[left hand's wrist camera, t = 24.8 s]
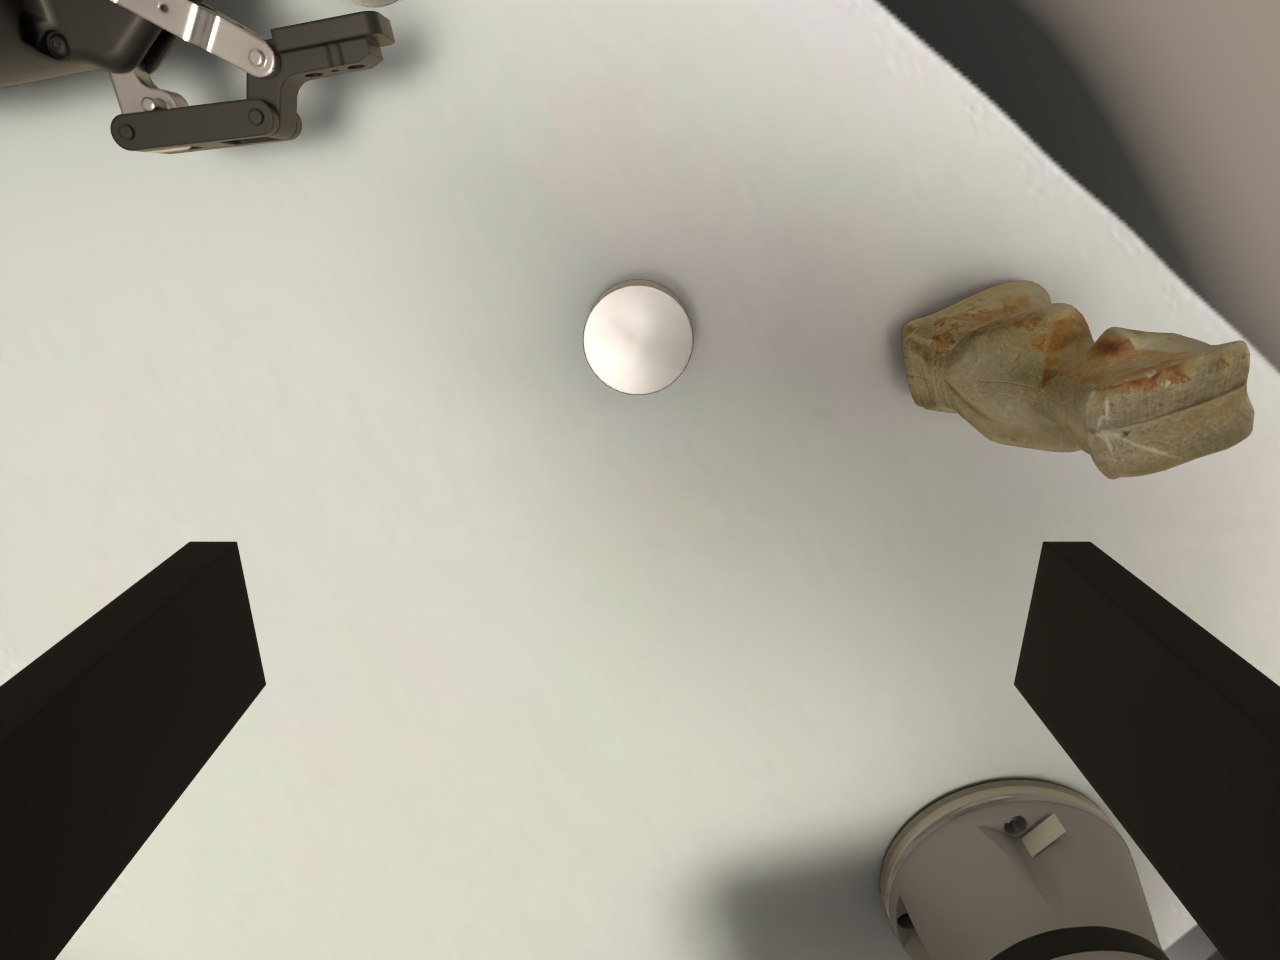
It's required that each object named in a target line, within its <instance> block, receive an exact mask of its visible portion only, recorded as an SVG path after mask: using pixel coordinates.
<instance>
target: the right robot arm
mask: <svg viewBox="0 0 1280 960" xmlns="http://www.w3.org/2000/svg"><path fill="white" fill-rule="evenodd" d="M270 30H271V33H272V37H273V39H266V38H265V37H263V36H261V35H259V34H257V33H255V32H254V31H252V30H250V29H249V28H248V27H246V26H244V25H242V24H241V23H239V22H237V21H235V20H233V19H231V18H230V17H228V16H226V15H224V14H222V13H221V12H219V11H217V10H215V9H213V8H212V7H210V6H208V5H206V4H204V3H202V0H0V88H4V87H9V86H14V85H20V84H25V83H30V82H35V81H40V80H45V79H50V78H55V77H61V76H66V75H71V74H76V73H81V72H86V71H91V70H96V69H102V70H105V71H107V72H109V73H110V77H111V80H112V83H113V86H114V89H115V93H116V96H117V99H118V102H119V105H120V109H121V112H122V114H120V115H118V116H116V117H115V118H114V119H113V121H112V123H111V134H112V136H113V139H114V140H115V142H116V143H117V144H118V145H119V146H120V147H122V148H124V149H126V150H130V151H141V152H153V153H164V154H175V153H184V152H192V151H201V150H209V149H218V148H227V147H235V146H244V145H252V144H261V143H270V142H278V141H287V140H293V139H295V138H296V137H298V136H299V134H300V132H301V129H302V123H301V119H300V117H299V115H298V114H297V95H298V91H299V89H300V87H301V86H302V85H303V84H304V83H305V82H307V81H309V80H312V79H318V78H323V77H328V76H333V75H338V74H344V73H349V72H354V71H359V70H365V69H370V68H373V67H374V66H375V65H377V64H378V63H379V62H381V61H382V60H383V57H382V53H381V49H380V47H383V46H388V45H391V44H393V43H395V41H394V36H393V32H392V28H391V24H390V20H388V19H387V18H386V17H384V16H383V15H381V14H380V13H378V12H376V11H363V12H357V13H352V14H347V15H342V16H337V17H332V18H327V19H321V20H316V21H311V22H306V23H301V24H296V25H291V26H286V27H281V28H276V29H270ZM178 37H180V38H181V39H183V40H185V41H187V42H189V43H191V44H193V45H195V46H198V47H200V48H202V49H204V50H206V51H208V52H210V53H212V54H214V55H216V56H218V57H220V58H221V59H223V60H225V61H227V62H229V63H231V64H232V65H234V66H236V67H238V68H240V69H242V70H244V71H245V72H247V99H245V100H237V101H228V102H220V103H211V104H203V105H194V106H189V105H188V103H187V101H186V100H185V99H184V97H182V96H181V95H180V94H178V93H175V92H171V91H166V90H162V89H159V88H158V87H157V86H156V85H155V84H154V83H153V82H152V80H151V78H150V76H149V75H150V74H151V73H153V72H154V71H155V70H156V69H157V68H158V67H159V65H160V64H161V63H162V61H163V60H164V58H165V57H166V55H167V54H168V52H169V51H170V49H171V48H172V46H173V45H174V43H175V42H176V40H177V39H178Z"/></svg>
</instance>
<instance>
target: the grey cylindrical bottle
mask: <svg viewBox="0 0 1280 960" xmlns="http://www.w3.org/2000/svg"><path fill="white" fill-rule="evenodd" d="M349 1H351V2H353V3H356V4H359V5H362V6H368V7H379V6H384V5H388V4H390V3H392V2H394V1H396V0H349Z"/></svg>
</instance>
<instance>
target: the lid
mask: <svg viewBox="0 0 1280 960" xmlns="http://www.w3.org/2000/svg"><path fill="white" fill-rule="evenodd" d="M583 347H584V352H585V356H586V359H587V362H588V364H589V366H590V368H591V369H592V371H593V372H594V374H595V375H596V376H597V377H598V378H599V379H600V380H601V381H602V382H603V383H605V384H606V385H607V386H609V387H610V388H612V389H614V390H616V391H619V392H622V393H626V394H632V395H645V394H651V393H654V392H657V391H660V390H662V389H664V388H666V387H667V386H669V385H670V384H672V383H673V382H674V381H675V380H676V379H677V378H678V377H679V376H680V375H681V374H682V372H683V371H684V370H685V368H686V366H687V364H688V362H689V359H690V357H691V353H692V348H693V332H692V327H691V323H690V320H689V318H688V315H687V313H686V310H685V308H684V306H683V305H682V303H681V301H680V300H679V299H678V298H677V296H676V295H674V294H673V293H672V292H671V291H670V290H669V289H667V288H666V287H664V286H662V285H660V284H658V283H655V282H652V281H648V280H640V279H638V280H628V281H624V282H621V283H618V284H616V285H614V286H612V287H611V288H609V289H608V290H606V291H605V292H604V293H603V294H602V295H601V296H600V297H599V298H598V299H597V301H596V302H595V304H594V305H593V307H592V309H591V311H590V313H589V316H588V318H587V321H586V324H585V327H584V332H583Z"/></svg>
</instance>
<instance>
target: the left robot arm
mask: <svg viewBox="0 0 1280 960" xmlns="http://www.w3.org/2000/svg"><path fill="white" fill-rule="evenodd" d="M265 685H266V682H265V677H264V672H263V667H262V662H261V657H260V653H259V648H258V643H257V638H256V633H255V628H254V623H253V618H252V613H251V609H250V604H249V599H248V594H247V589H246V584H245V579H244V574H243V569H242V565H241V560H240V555H239V550H238V545H237V542H189V543H188V544H186V545H185V546H184V547H182V548H181V549H180V550H178V551H177V552H176V553H174V554H173V555H172V556H171V557H169V558H168V559H167V560H165V561H164V562H163V563H161V564H160V565H159V566H157V567H156V568H155V569H154V570H152V571H151V572H150V573H148V574H147V575H146V576H144V577H143V578H142V579H140V580H139V581H138V582H137V583H135V584H134V585H133V586H131V587H130V588H129V589H127V590H126V591H125V592H123V593H122V594H121V595H119V596H118V597H117V598H116V599H114V600H113V601H112V602H110V603H109V604H108V605H106V606H105V607H104V608H102V609H101V610H100V611H99V612H97V613H96V614H95V615H93V616H92V617H91V618H89V619H88V620H87V621H85V622H84V623H83V624H82V625H80V626H79V627H78V628H76V629H75V630H74V631H72V632H71V633H70V634H68V635H67V636H66V637H65V638H63V639H62V640H61V641H59V642H58V643H57V644H55V645H54V646H53V647H51V648H50V649H49V650H48V651H46V652H45V653H44V654H42V655H41V656H40V657H38V658H37V659H36V660H34V661H33V662H32V663H31V664H29V665H28V666H27V667H25V668H24V669H23V670H21V671H20V672H19V673H17V674H16V675H15V676H14V677H12V678H11V679H10V680H8V681H7V682H6V683H4V684H3V685H2V686H0V960H55V959H56V957H57V956H58V955H59V953H60V952H61V951H62V949H63V948H64V947H65V946H66V944H67V943H68V942H69V940H70V939H71V938H72V936H73V935H74V934H75V933H76V931H77V930H78V929H79V927H80V926H81V925H82V923H83V922H84V921H85V920H86V918H87V917H88V916H89V914H90V913H91V912H92V910H93V909H94V908H95V907H96V905H97V904H98V903H99V901H100V900H101V899H102V897H103V896H104V895H105V893H106V892H107V891H108V890H109V888H110V887H111V886H112V884H113V883H114V882H115V880H116V879H117V878H118V877H119V875H120V874H121V873H122V871H123V870H124V869H125V867H126V866H127V865H128V864H129V862H130V861H131V860H132V858H133V857H134V856H135V854H136V853H137V852H138V851H139V849H140V848H141V847H142V845H143V844H144V843H145V841H146V840H147V839H148V838H149V836H150V835H151V834H152V832H153V831H154V830H155V828H156V827H157V826H158V824H159V823H160V822H161V821H162V819H163V818H164V817H165V815H166V814H167V813H168V811H169V810H170V809H171V808H172V806H173V805H174V804H175V802H176V801H177V800H178V798H179V797H180V796H181V795H182V793H183V792H184V791H185V789H186V788H187V787H188V785H189V784H190V783H191V782H192V780H193V779H194V778H195V776H196V775H197V774H198V772H199V771H200V770H201V769H202V767H203V766H204V765H205V763H206V762H207V761H208V759H209V758H210V757H211V756H212V754H213V753H214V752H215V750H216V749H217V748H218V746H219V745H220V744H221V742H222V741H223V740H224V739H225V737H226V736H227V735H228V733H229V732H230V731H231V729H232V728H233V727H234V726H235V724H236V723H237V722H238V720H239V719H240V718H241V716H242V715H243V714H244V713H245V711H246V710H247V709H248V707H249V706H250V705H251V703H252V702H253V701H254V700H255V698H256V697H257V696H258V694H259V693H260V692H261V690H262V689H263V688H264V687H265ZM1014 685H1015V687H1016V688H1017V689H1018V690H1019V692H1020V693H1021V694H1022V696H1023V697H1024V698H1025V700H1026V701H1027V702H1028V703H1029V705H1030V706H1031V707H1032V709H1033V710H1034V711H1035V713H1036V714H1037V715H1038V716H1039V718H1040V719H1041V720H1042V722H1043V723H1044V724H1045V726H1046V727H1047V728H1048V729H1049V731H1050V732H1051V733H1052V735H1053V736H1054V737H1055V739H1056V740H1057V741H1058V742H1059V744H1060V745H1061V746H1062V748H1063V749H1064V750H1065V752H1066V753H1067V754H1068V756H1069V757H1070V758H1071V759H1072V761H1073V762H1074V763H1075V765H1076V766H1077V767H1078V769H1079V770H1080V771H1081V772H1082V774H1083V775H1084V776H1085V778H1086V779H1087V780H1088V782H1089V783H1090V784H1091V785H1092V787H1093V788H1094V789H1095V791H1096V792H1097V793H1098V795H1099V796H1100V797H1101V798H1102V800H1103V801H1104V802H1105V804H1106V805H1107V806H1108V808H1109V809H1110V810H1111V811H1112V813H1113V814H1114V815H1115V817H1116V818H1117V819H1118V821H1119V822H1120V823H1121V824H1122V826H1123V827H1124V828H1125V830H1126V831H1127V832H1128V834H1129V835H1130V836H1131V838H1132V839H1133V840H1134V841H1135V843H1136V844H1137V845H1138V847H1139V848H1140V849H1141V851H1142V852H1143V853H1144V854H1145V856H1146V857H1147V858H1148V860H1149V861H1150V862H1151V864H1152V865H1153V866H1154V867H1155V869H1156V870H1157V871H1158V873H1159V874H1160V875H1161V877H1162V878H1163V879H1164V880H1165V882H1166V883H1167V884H1168V886H1169V887H1170V888H1171V890H1172V891H1173V892H1174V893H1175V895H1176V896H1177V897H1178V899H1179V900H1180V901H1181V903H1182V904H1183V905H1184V907H1185V908H1186V909H1187V910H1188V912H1189V913H1190V914H1191V916H1192V917H1193V918H1194V920H1195V921H1196V922H1197V923H1198V925H1199V926H1200V927H1201V929H1202V930H1203V931H1204V932H1205V934H1206V935H1207V936H1208V938H1209V939H1210V940H1211V942H1212V943H1213V944H1214V946H1215V947H1216V948H1217V949H1218V951H1219V952H1220V953H1221V955H1222V956H1223V957H1224V959H1225V960H1280V686H1278V685H1277V684H1276V683H1274V682H1273V681H1272V680H1270V679H1269V678H1268V677H1266V676H1265V675H1264V674H1263V673H1261V672H1260V671H1259V670H1257V669H1256V668H1255V667H1253V666H1252V665H1251V664H1249V663H1248V662H1247V661H1246V660H1244V659H1243V658H1242V657H1240V656H1239V655H1238V654H1236V653H1235V652H1234V651H1232V650H1231V649H1230V648H1229V647H1227V646H1226V645H1225V644H1223V643H1222V642H1221V641H1219V640H1218V639H1217V638H1215V637H1214V636H1213V635H1212V634H1210V633H1209V632H1208V631H1206V630H1205V629H1204V628H1202V627H1201V626H1200V625H1198V624H1197V623H1196V622H1195V621H1193V620H1192V619H1191V618H1189V617H1188V616H1187V615H1185V614H1184V613H1183V612H1181V611H1180V610H1179V609H1178V608H1176V607H1175V606H1174V605H1172V604H1171V603H1170V602H1168V601H1167V600H1166V599H1164V598H1163V597H1162V596H1161V595H1159V594H1158V593H1157V592H1155V591H1154V590H1153V589H1151V588H1150V587H1149V586H1147V585H1146V584H1145V583H1143V582H1142V581H1141V580H1140V579H1138V578H1137V577H1136V576H1134V575H1133V574H1132V573H1130V572H1129V571H1128V570H1126V569H1125V568H1124V567H1123V566H1121V565H1120V564H1119V563H1117V562H1116V561H1115V560H1113V559H1112V558H1111V557H1109V556H1108V555H1107V554H1106V553H1104V552H1103V551H1102V550H1100V549H1099V548H1098V547H1096V546H1095V545H1094V544H1092V543H1091V542H1043V545H1042V550H1041V555H1040V560H1039V564H1038V569H1037V574H1036V579H1035V584H1034V589H1033V594H1032V599H1031V604H1030V609H1029V613H1028V618H1027V623H1026V628H1025V633H1024V638H1023V643H1022V648H1021V653H1020V657H1019V662H1018V667H1017V672H1016V677H1015V682H1014ZM880 891H881V897H882V901H883V904H884V907H885V910H886V913H887V916H888V919H889V921H890V924H891V927H892V929H893V932H894V934H895V936H896V937H897V939H898V941H899V942H900V943H901V945H902V947H903V948H904V950H905V951H906V952H907V954H908V955H909V956H910V957H911V959H912V960H1169V959H1168V957H1167V956H1166V954H1165V953H1164V951H1163V950H1162V948H1161V945H1160V943H1159V940H1158V936H1157V933H1156V930H1155V927H1154V924H1153V921H1152V917H1151V914H1150V911H1149V908H1148V905H1147V902H1146V899H1145V895H1144V892H1143V889H1142V886H1141V883H1140V880H1139V877H1138V873H1137V871H1136V867H1135V864H1134V861H1133V859H1132V856H1131V853H1130V851H1129V849H1128V847H1127V845H1126V843H1125V841H1124V840H1123V838H1122V837H1121V835H1120V834H1119V833H1118V831H1117V830H1116V829H1115V827H1114V826H1113V825H1112V823H1111V822H1110V821H1109V819H1108V818H1107V817H1106V816H1105V814H1104V813H1103V812H1102V811H1101V810H1100V809H1099V808H1098V807H1097V806H1096V805H1095V804H1094V803H1093V802H1091V801H1090V800H1088V799H1087V798H1086V797H1084V796H1082V795H1080V794H1079V793H1077V792H1075V791H1072V790H1070V789H1068V788H1065V787H1062V786H1059V785H1056V784H1051V783H1047V782H1041V781H1033V780H1006V781H996V782H990V783H985V784H981V785H977V786H973V787H970V788H967V789H964V790H961V791H958V792H956V793H954V794H951V795H949V796H947V797H945V798H943V799H941V800H939V801H937V802H936V803H934V804H932V805H931V806H929V807H928V808H926V809H925V810H924V811H922V812H921V813H919V814H918V815H917V816H916V817H915V818H914V819H912V820H911V821H910V822H909V823H908V824H907V825H906V826H905V827H904V828H903V829H902V831H901V832H900V833H899V834H898V836H897V837H896V838H895V840H894V841H893V843H892V845H891V846H890V848H889V850H888V852H887V854H886V857H885V859H884V862H883V866H882V870H881V877H880Z"/></svg>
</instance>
